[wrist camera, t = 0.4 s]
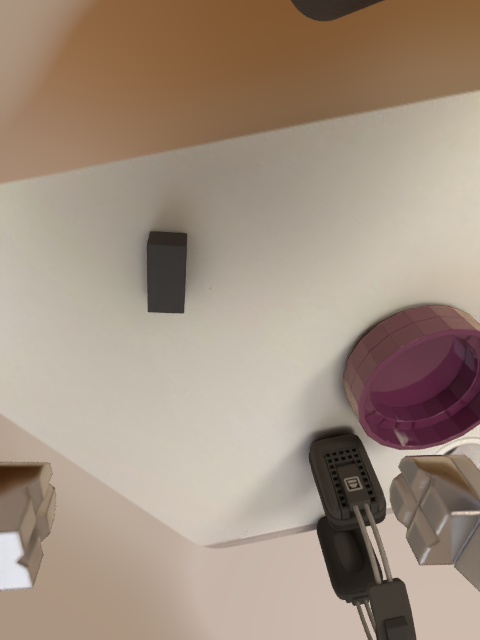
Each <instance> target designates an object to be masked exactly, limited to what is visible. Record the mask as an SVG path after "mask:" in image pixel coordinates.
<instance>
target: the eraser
mask: <svg viewBox="0 0 480 640" xmlns="http://www.w3.org/2000/svg"><path fill="white" fill-rule="evenodd" d="M186 252H187V234H181V233H165V232H150V235H149V239H148V243H147V284H148V312H158V313H184V303H185V277H186Z"/></svg>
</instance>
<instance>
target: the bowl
mask: <svg viewBox="0 0 480 640" xmlns="http://www.w3.org/2000/svg"><path fill="white" fill-rule="evenodd" d="M343 378H344V388H345V394H346V396H347V398H348V400H349V402H350V404H351V406H352V408H353V410H354V412H355V414H356V416H357V418H358V420H359V422H360V424H361V425H362V427H363V429H364V430H365V432H366V434H367V435H368V436H369V437H371V438H372V439H374V440H375V441H376V442H378V443H379V444H381V445H383V446H387V447H391V448H395V449H399V450H420V449H425V448H429V447H434V446H438V445H442V444H445V443H447V442H450V441H452V440H454V439H456V438H458V437H461V436H463V435H465V434H466V433H468V432H469V431H470V430H472V429H473V428H475V427H476V426H478V425H479V424H480V323H479V322H477V321H476V320H475V319H474V318H473V317H471V316H470V315H469V314H468V313H465V312H463V311H460V310H458V309H455V308H453V307H450V306H433V305H426V306H422V307H418V308H413V309H409V310H405V311H402V312H400V313H398V314H396V315H394V316H392V317H390V318H388V319H386V320H384V321H382V322H381V323H379V324H378V325H377V326H376V327H375V328H373V329H372V330H371V331H370V332H369V333H368V334H367V335H365V336H364V337H363V338H362V339H361V340H360V342H359V343H358V344H357V346H356V347H355V349H354V350H353V352H352V353H351V355H350V356H349V358H348V362H347V365H346V369H345V372H344V375H343Z"/></svg>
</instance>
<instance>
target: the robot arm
mask: <svg viewBox="0 0 480 640" xmlns="http://www.w3.org/2000/svg"><path fill="white" fill-rule="evenodd" d="M398 467H399V469H400V471H401V474H399V475H398V476H397V477H395V478H394V479H393V481H392V484H391V486H390V503H391V506H392V510H393V512H394V514H395V516H396V518H397V520H398V521H399V522H401V523H402V524H403V525H404V526H405V527H407V533H406V539H407V541H408V543H409V545H410V547H411V548H412V551H413V553H414V555H415V557H416V559H417V561H418V563H419V565H447V564H448V565H452V564H455V565H454V567H455V568H456V569H457V570H458V571H459V572H460V573H461V574H462V575H463V576H464V577H465V578H466V579H467V580H468V581H469V582H470V583H471V584H472V585H474V587H475V588H477V589H478V590H479V591H480V471H479V469H478V468H477V467H476V465H475V464H474V463H473V461H472V460H471V459H470V458H469V457H467V456H466V455H419V456H405V457H404V458H403V459H401V462H400V464H399V466H398ZM51 476H52V469H51V465H50V463H48V462H0V591H7V590H19V589H30V588H33V586H34V583H35V580H36V577H37V574H38V570H39V567H40V564H41V561H42V558H43V550H42V545H41V542H42V541H43V540H44V539H45V538H46V537H47V536H48V535H49V534H50V532H51V528H52V525H53V521H54V516H55V510H56V492H55V488H54V487H53V486H52V485H51V484H50V483H49V482H50V479H51Z"/></svg>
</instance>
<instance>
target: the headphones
mask: <svg viewBox="0 0 480 640" xmlns="http://www.w3.org/2000/svg"><path fill="white" fill-rule="evenodd" d="M309 462H310V465H311V469H312V473H313V476H314V479H315V483H316V486H317V489H318V492H319V495H320V499H321V502H322V505H323V508H324V511H325V514H326V517H325V518H322V519H321V520H319V522H318V526H317V535H318V538H319V542H320V545H321V549H322V552H323V556H324V559H325V563H326V566H327V570H328V574H329V577H330V581H331V584H332V587H333V589H334V591H335V593H336V595H337V596H338V597H339V598H340V599H342V600H346V602H347V603H350V602H352V604H353V605H354V606H355V605H356V606H357V609H358V612H359V615H360V619H361V621H362V624H363V627H364V630H365V632H366V635H367V638H368V640H373V639H372V637H371V634H370V632H369V629H368V626H367V624H366V621H365V618H364V615H363V612H362V609H361V606H360V605H361V604H365V607H366V610H367V613H368V616H369V619H370V621H371V624H372V627H373V629H374V631H375V634H376V637H377V640H416V634H415V628H414V622H413V618H412V612H411V607H410V603H409V599H408V595H407V591H406V587H405V584H404V582H403V581H401V580H400V579H399V578H393V579H392V575H391V572H390V568H389V564H388V560H387V557H386V554H385V550H384V547H383V544H382V541H381V538H380V535H379V532H378V529H377V527H376V524H378V523H380V522H382V521H383V520H384V519H385V516H386V501H385V497H384V494H383V491H382V488H381V486H380V483H379V481H378V479H377V476H376V474H375V471H374V469H373V467H372V464H371V462H370V459H369V457H368V455H367V452H366V450H365V448H364V446H363V444H362V442H361V440H360V439H359V437H358V436H357V435H354V434H346V435H341V436H336V437H331V438H326V439H321V440H318V441H315V442H313V443H312V444H311V447H310V453H309ZM366 526H371V527H372V530H373V533H374V536H375V539H376V542H377V545H378V548H379V552H380V555H381V558H382V562H383V565H384V569H385V573H386V577H387V580H383V575H382V571H381V567H380V564H379V562H378V559H377V557H376V554H375V552H374V549H373V547H372V544H371V541H370V539H369V536H368V533H367V531H366ZM369 601H370V605H371V610H372V613H371V610H370V607H369V604H368V603H369ZM372 614H373V615H372ZM373 617H374V618H373Z"/></svg>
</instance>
